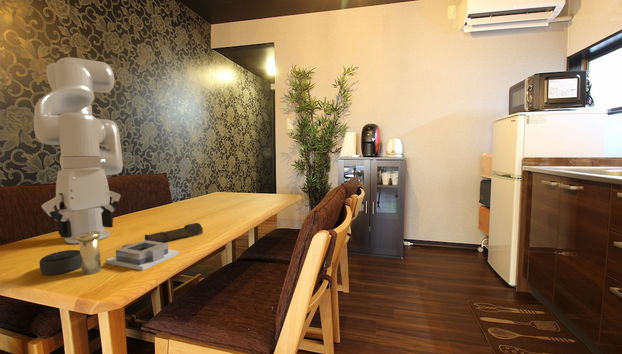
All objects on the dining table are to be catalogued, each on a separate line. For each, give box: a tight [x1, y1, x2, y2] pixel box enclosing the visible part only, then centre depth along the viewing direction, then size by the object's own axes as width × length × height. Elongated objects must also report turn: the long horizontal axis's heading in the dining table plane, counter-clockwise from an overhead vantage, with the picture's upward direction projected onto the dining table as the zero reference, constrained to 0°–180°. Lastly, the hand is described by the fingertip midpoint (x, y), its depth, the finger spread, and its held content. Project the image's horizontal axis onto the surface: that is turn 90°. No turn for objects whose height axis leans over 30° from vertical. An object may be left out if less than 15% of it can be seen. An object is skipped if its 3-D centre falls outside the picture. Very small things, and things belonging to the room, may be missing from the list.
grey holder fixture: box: [115, 239, 169, 265], centre depth 81 cm, size 14×9×3 cm, turn 69°
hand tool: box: [144, 222, 204, 243], centre depth 100 cm, size 19×4×5 cm, turn 132°
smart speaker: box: [38, 249, 81, 276], centre depth 76 cm, size 9×9×4 cm
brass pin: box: [76, 231, 102, 276], centre depth 74 cm, size 5×5×10 cm
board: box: [105, 248, 180, 271], centre depth 82 cm, size 14×12×1 cm
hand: (88, 231), depth 72 cm, fingers open, 9 cm apart
